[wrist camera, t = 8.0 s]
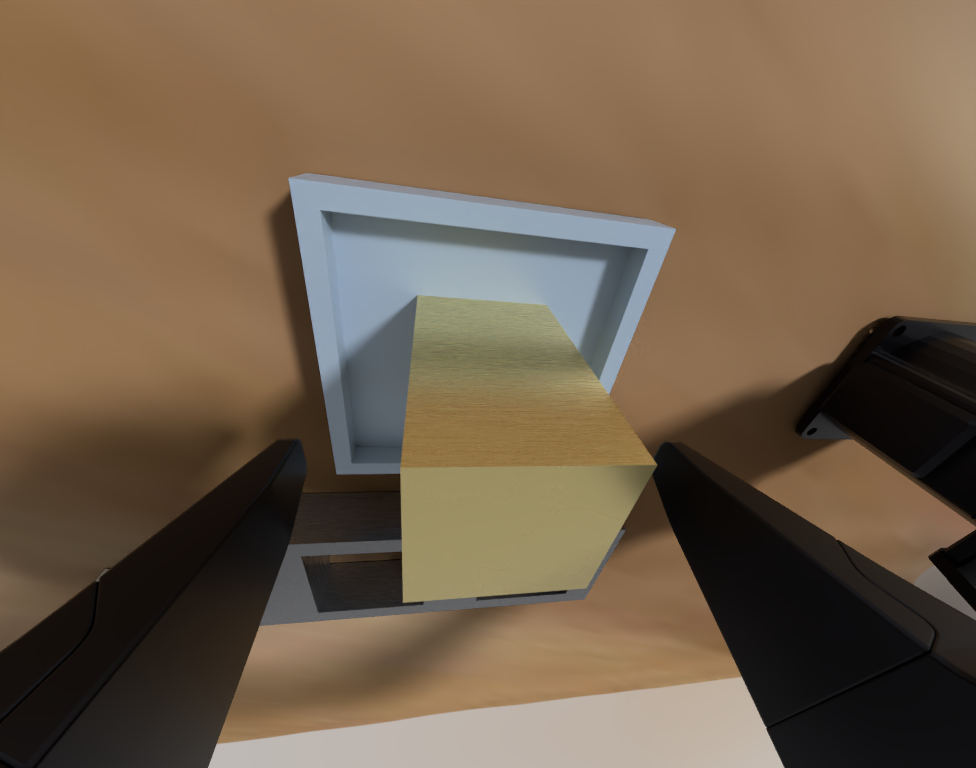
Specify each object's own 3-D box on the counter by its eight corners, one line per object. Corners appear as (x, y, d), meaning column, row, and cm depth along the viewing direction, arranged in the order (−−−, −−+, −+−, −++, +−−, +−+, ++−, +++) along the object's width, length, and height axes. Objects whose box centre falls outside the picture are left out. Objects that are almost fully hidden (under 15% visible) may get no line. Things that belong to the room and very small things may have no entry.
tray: (649, 219, 11) (675, 229, 10) (567, 447, 16) (577, 471, 15) (307, 172, 9) (288, 177, 8) (344, 446, 15) (336, 474, 13)
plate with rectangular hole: (605, 487, 19) (625, 529, 17) (570, 558, 23) (584, 599, 21) (232, 495, 15) (202, 548, 13) (267, 575, 19) (247, 626, 17)
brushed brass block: (523, 404, 14) (586, 587, 8) (416, 402, 13) (402, 602, 7) (546, 304, 12) (657, 464, 6) (417, 295, 11) (400, 467, 5)
